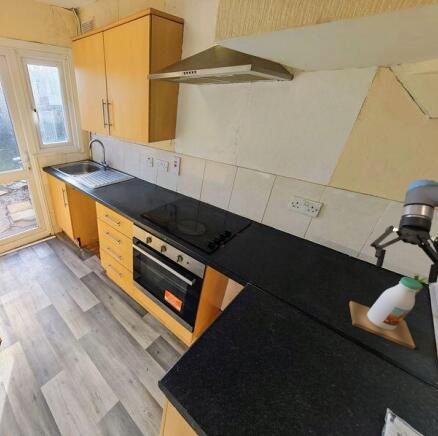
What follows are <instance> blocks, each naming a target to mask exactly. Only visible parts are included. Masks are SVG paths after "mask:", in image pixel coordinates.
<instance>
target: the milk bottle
mask: <svg viewBox="0 0 438 436" xmlns="http://www.w3.org/2000/svg"><path fill="white" fill-rule="evenodd" d="M422 286H423V284H422V282H421V283H420V282H418V281H417V280H415V279H414V278H412V277H409V276H403V277H401V278H400V281H398V284H396V285H395V286H392V287H389V288H387V289H386V290H384V291H383V292H382V293H381V294H380V295H379V297H378V298H377V299H376V301H375V302H374V303H373V305H372V306H371V307H370V308H371V309H370V310H369V312H368V313H367V317H368V319H369V320H370V321H371V322H372V323H373V324H375V325H376V326H378V327H380V328H382V329H386V330H393V329H395V328H396V327H397V325H398V324H399V323H400V322H401V321H402V320H404V319H405V317H406V316H407V315H408V314H410V312H411V311H412V309H413V308H414V306H415V303H416V295H415V293H416V291H419V289H420V288H421V287H422ZM419 292H420V291H419Z"/></svg>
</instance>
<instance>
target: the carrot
mask: <svg viewBox="0 0 438 436" xmlns="http://www.w3.org/2000/svg"><path fill="white" fill-rule="evenodd" d="M419 278H420V275H419V274H417V273H415V274H414V276H413V279H415V280H417V281H418V282H420V283H421V284H422V283H424V284H426V283H427V281H426V280H428V278H429V277H427V276H425V277H422V278H421V279H419ZM422 289H424V286H423V285H422V287H421V288H420V289H419V291H416V293H415V296H416V295H418V294H419V293H420V291H421V290H422Z"/></svg>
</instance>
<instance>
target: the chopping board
mask: <svg viewBox="0 0 438 436" xmlns="http://www.w3.org/2000/svg"><path fill="white" fill-rule="evenodd" d="M348 304H349V305H348V306H349V311H350V316H351V323H352V326H354V327H357V328H359V329H361V330H364V331H367V332H369V333H372V334H373V335H376V336H379V337H382V338H384V339H387V340H388V341H391V342H393V343H396V344H398V345H401V346H403V347H406V348H408V349H411V350H414V349H416V345H415V342H414V339H413V338H412V334H411V331H410V330H409V327H408V325H407V322H406V320H404V319H403V320H402V321H401V322H400V323H399V324H398V325H397V327H396V328H395V329H393V330H386V329H382V328H380V327H378V326H376V325H375V324H373V323H372V322H371V321H370V320H369V319H368V317H367V313H368V312H369V310H370V309H371V307H369V306H366V305H363V304H361V303H358V302H355V301H352V300H350V301H349V303H348Z"/></svg>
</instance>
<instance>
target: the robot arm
mask: <svg viewBox="0 0 438 436" xmlns="http://www.w3.org/2000/svg"><path fill="white" fill-rule="evenodd" d="M435 208H438V181H436V180H433V179H431V180H430V179H418V180H414V181H412V182H411V183H409V184H408V187H407V190H406V192H405V197H404V201H403V205H402V211H401V216H400V220H399V223H398V228H397V227H395V226H394V225H389V226H388V227H386V228H385V230H384V232H383V233H382V234H380V235H379V236H378V237H377V238H376V239H375V240H374V241H373V242H372V243H370V245H369V246H370V247H372V248H374V250H375V252H374V258H377V259H376V264H375V268H378V269H380V268H382V267H383V264H384V261H385V257H386V252H387V250H386V249H385V248H387V247H389V246H391V245H394V244H396V243H398V242H403V243H404V244H410V245H413V246H418V248H420V249H421V250H422V252H424V254H426V256H427V257H428V258H429V259H430V261H431V262H432V263H431V264H430V269H429V273H428V277H427V278H428V279H427V283H428V284H435V283H437V282H438V236H432V235H430V232H431V230H432V224H433V222H432V221H433V219H434V214H435ZM393 233H396V235H397V236H398V237H395V238H393V239H391V240H389V241H387V242H385V243H382V242H383V241H384V240H385V239H386V238H388V236H390V235H391V234H393ZM429 241H430V242H429ZM380 243H381V245H380ZM431 243H432V246H433V247H432V246H431Z"/></svg>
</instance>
